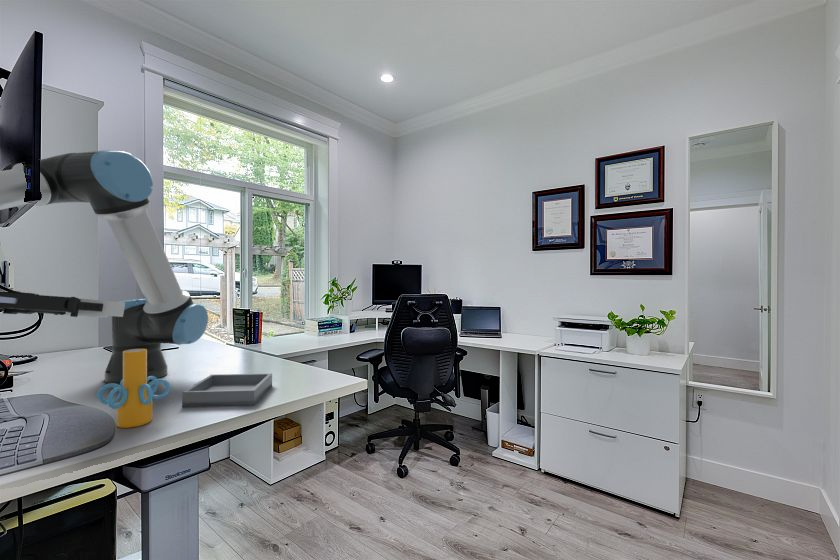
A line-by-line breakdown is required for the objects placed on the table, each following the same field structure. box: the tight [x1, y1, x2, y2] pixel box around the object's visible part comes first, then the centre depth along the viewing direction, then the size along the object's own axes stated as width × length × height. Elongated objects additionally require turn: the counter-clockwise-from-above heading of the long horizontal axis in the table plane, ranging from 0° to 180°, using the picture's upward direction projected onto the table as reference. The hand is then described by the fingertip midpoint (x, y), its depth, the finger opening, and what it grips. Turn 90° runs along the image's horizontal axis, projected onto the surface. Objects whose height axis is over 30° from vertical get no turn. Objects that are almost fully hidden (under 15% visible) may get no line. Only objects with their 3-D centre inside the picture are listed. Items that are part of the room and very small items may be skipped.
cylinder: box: [96, 349, 171, 429], centre depth 80 cm, size 12×10×15 cm
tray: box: [181, 373, 273, 408], centre depth 98 cm, size 16×16×4 cm
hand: (115, 310), depth 78 cm, fingers open, 13 cm apart
